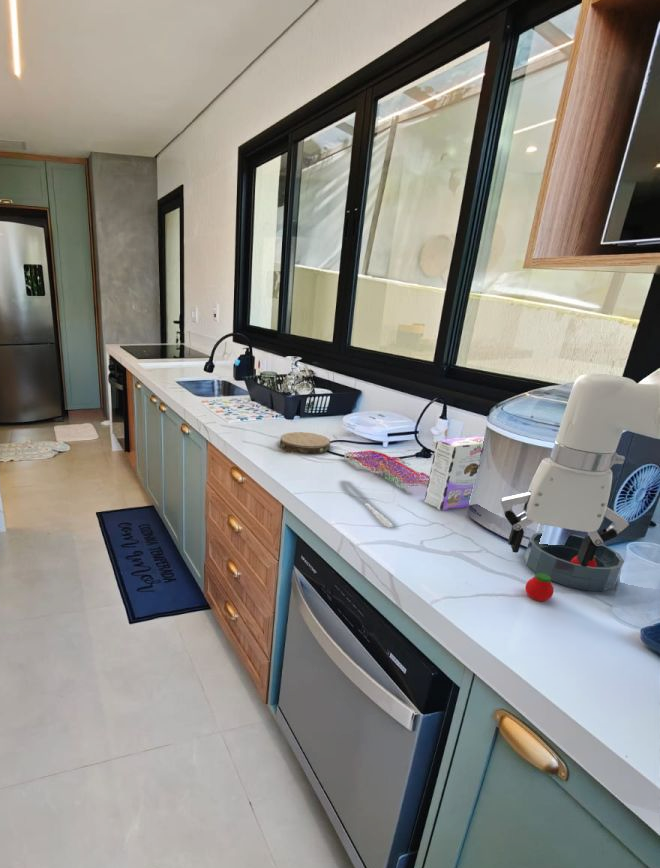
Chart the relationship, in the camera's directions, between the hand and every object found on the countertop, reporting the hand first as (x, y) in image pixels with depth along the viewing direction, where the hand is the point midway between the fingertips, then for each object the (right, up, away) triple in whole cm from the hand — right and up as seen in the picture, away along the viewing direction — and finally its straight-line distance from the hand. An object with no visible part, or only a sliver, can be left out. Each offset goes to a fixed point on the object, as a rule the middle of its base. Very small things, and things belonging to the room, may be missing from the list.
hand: (546, 555), depth 83 cm
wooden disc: (-25, +24, +81) cm, 88 cm away
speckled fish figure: (-5, +14, +58) cm, 60 cm away
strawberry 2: (+12, -5, +10) cm, 17 cm away
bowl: (+12, -5, +12) cm, 17 cm away
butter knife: (-18, +7, +39) cm, 43 cm away
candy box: (+4, +7, +41) cm, 42 cm away
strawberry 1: (0, -8, +3) cm, 8 cm away
